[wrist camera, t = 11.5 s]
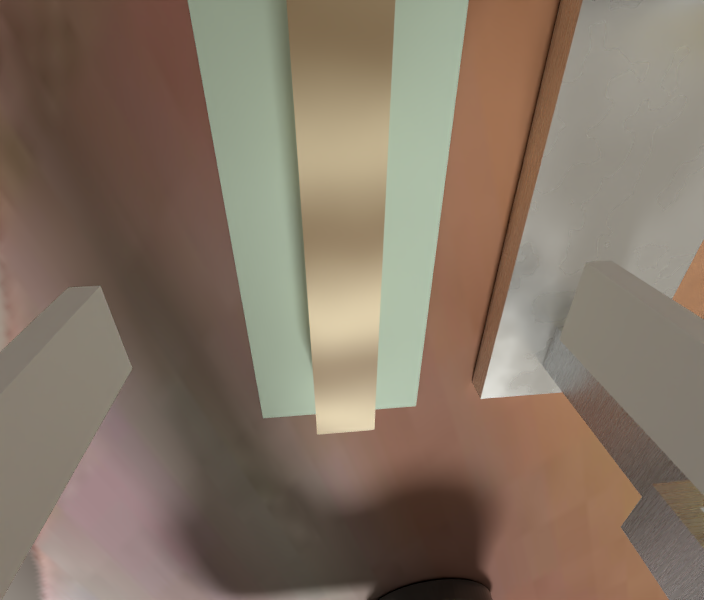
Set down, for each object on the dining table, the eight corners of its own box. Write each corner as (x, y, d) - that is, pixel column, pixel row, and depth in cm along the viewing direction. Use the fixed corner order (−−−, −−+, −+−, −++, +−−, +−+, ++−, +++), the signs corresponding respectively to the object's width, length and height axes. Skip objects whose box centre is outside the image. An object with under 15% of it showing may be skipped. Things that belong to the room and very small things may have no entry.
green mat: (413, 397, 26) (415, 406, 26) (264, 408, 26) (262, 418, 25) (495, -282, 11) (507, -303, 11) (138, -311, 10) (127, -336, 10)
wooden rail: (364, 376, 24) (374, 429, 20) (315, 380, 24) (317, 434, 20) (377, -149, 12) (406, -228, 9) (279, -154, 12) (269, -237, 8)
